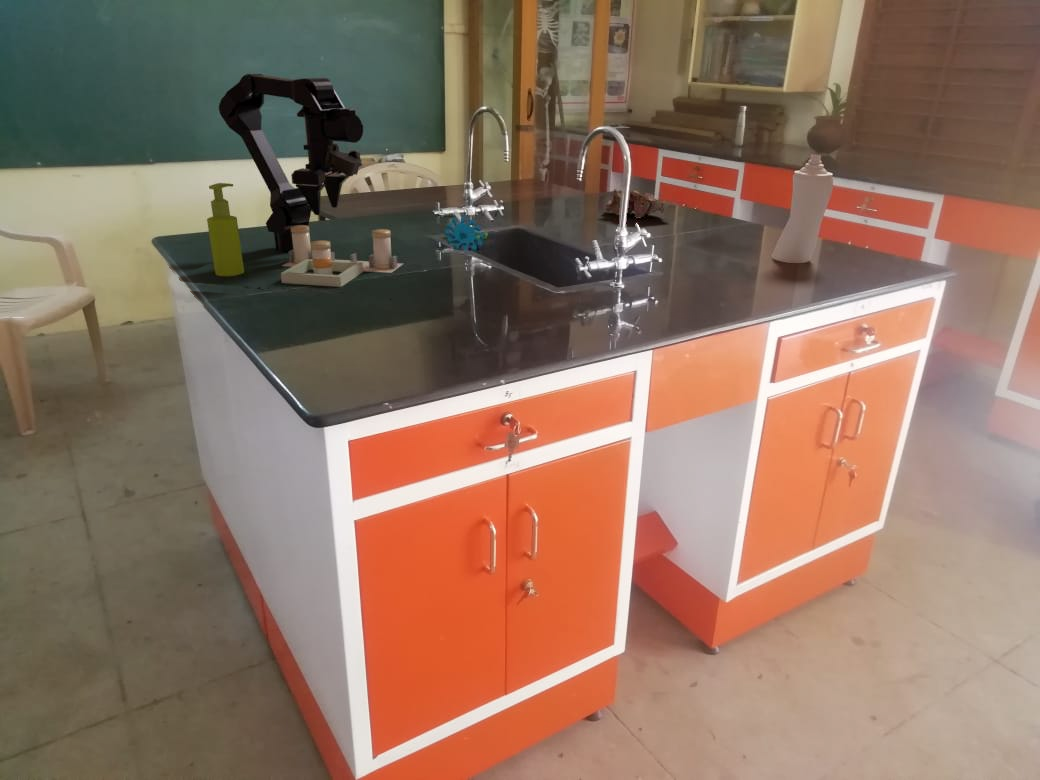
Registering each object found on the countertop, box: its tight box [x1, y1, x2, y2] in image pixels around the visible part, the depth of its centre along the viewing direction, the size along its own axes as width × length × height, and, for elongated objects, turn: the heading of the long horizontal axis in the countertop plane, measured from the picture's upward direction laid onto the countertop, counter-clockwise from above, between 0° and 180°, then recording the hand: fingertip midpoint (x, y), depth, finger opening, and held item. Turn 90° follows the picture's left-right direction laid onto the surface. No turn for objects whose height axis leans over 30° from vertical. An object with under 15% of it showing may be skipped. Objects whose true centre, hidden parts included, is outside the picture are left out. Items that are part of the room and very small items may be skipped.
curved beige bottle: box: [771, 153, 834, 264], centre depth 181 cm, size 12×11×25 cm
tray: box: [280, 259, 364, 295], centre depth 162 cm, size 13×12×4 cm
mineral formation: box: [605, 188, 677, 218], centre depth 231 cm, size 23×16×10 cm
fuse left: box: [291, 225, 312, 264], centre depth 172 cm, size 4×4×8 cm
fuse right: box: [371, 228, 392, 270], centre depth 169 cm, size 4×4×8 cm
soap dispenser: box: [206, 182, 245, 277], centre depth 162 cm, size 6×7×20 cm
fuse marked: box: [310, 240, 334, 275], centre depth 161 cm, size 4×4×8 cm
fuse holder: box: [281, 250, 404, 274], centre depth 172 cm, size 26×8×4 cm, turn 79°
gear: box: [443, 216, 489, 252], centre depth 194 cm, size 11×6×10 cm
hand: (326, 211), depth 175 cm, fingers open, 9 cm apart
